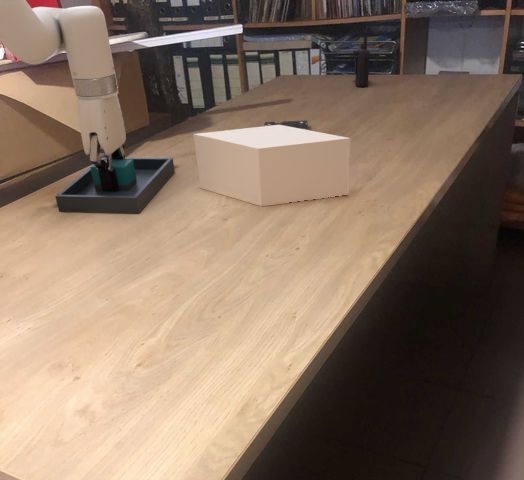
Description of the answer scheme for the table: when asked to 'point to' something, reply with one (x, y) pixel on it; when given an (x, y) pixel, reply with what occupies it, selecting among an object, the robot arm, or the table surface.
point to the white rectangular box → (273, 164)
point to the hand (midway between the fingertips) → (115, 184)
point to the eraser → (118, 174)
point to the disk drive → (290, 124)
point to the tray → (122, 201)
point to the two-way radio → (362, 63)
